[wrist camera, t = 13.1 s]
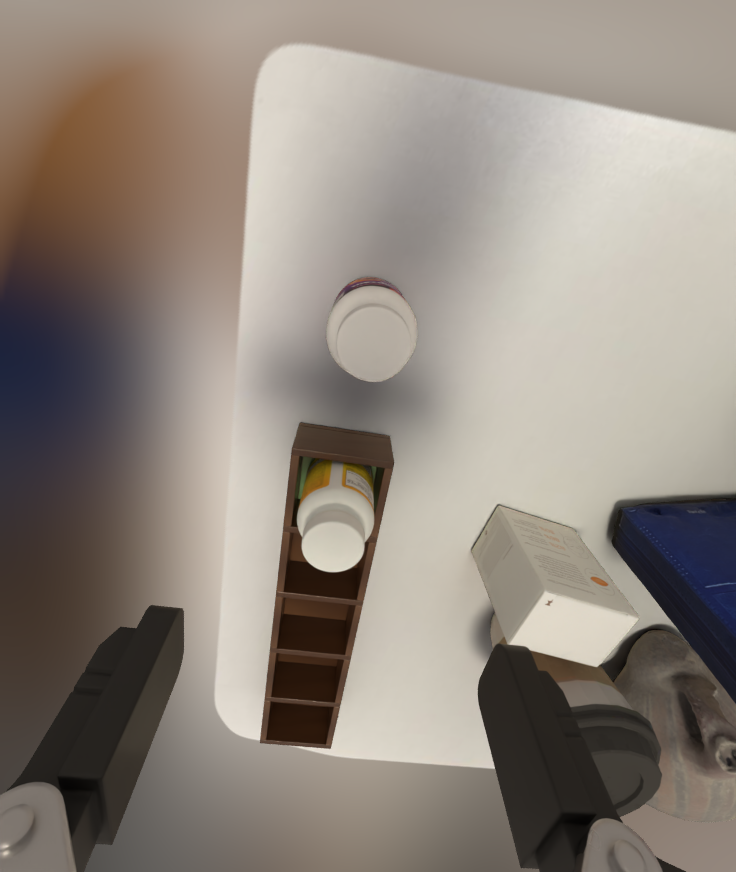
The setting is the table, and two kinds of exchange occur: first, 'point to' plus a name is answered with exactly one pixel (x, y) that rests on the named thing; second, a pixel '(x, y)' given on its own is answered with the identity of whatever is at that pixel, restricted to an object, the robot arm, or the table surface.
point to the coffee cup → (606, 728)
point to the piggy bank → (684, 726)
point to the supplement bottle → (335, 514)
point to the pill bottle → (371, 330)
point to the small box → (550, 589)
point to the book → (688, 572)
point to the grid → (318, 600)
